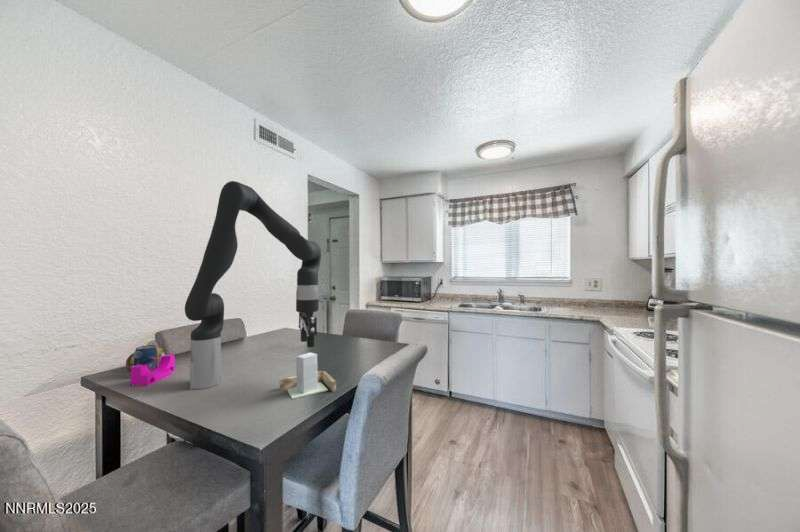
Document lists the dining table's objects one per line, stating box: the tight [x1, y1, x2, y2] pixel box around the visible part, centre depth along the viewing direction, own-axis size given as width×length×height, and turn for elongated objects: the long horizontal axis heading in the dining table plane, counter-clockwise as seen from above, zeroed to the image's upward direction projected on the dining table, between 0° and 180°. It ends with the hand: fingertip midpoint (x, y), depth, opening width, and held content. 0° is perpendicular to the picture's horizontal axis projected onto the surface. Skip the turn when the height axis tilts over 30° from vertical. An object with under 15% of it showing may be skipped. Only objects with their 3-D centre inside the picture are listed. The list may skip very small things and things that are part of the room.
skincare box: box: [295, 352, 319, 393], centre depth 102 cm, size 6×4×12 cm
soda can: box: [133, 344, 158, 372], centre depth 115 cm, size 7×7×12 cm
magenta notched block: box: [130, 354, 176, 386], centre depth 112 cm, size 15×6×8 cm, turn 178°
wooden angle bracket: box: [278, 370, 337, 393], centre depth 102 cm, size 16×13×4 cm
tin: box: [125, 346, 167, 370], centre depth 124 cm, size 15×3×8 cm, turn 169°
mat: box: [286, 381, 329, 400], centre depth 102 cm, size 12×8×1 cm, turn 122°
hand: (307, 344), depth 102 cm, fingers open, 8 cm apart
